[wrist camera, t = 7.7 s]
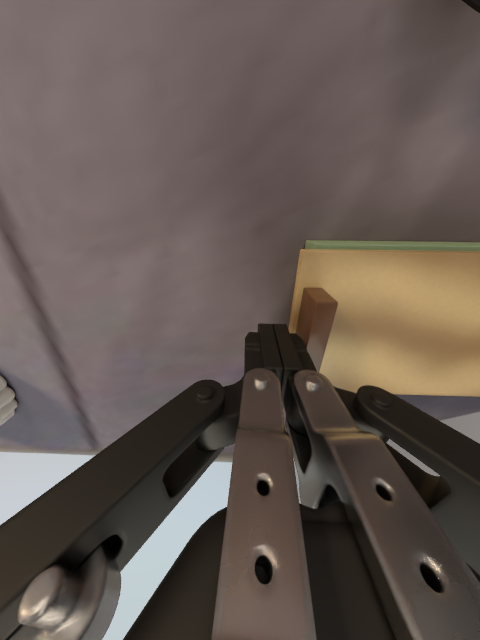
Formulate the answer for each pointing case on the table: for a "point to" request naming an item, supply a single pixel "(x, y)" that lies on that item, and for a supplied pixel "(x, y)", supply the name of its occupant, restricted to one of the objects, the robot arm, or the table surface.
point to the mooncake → (6, 401)
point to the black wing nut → (473, 4)
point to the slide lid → (391, 319)
